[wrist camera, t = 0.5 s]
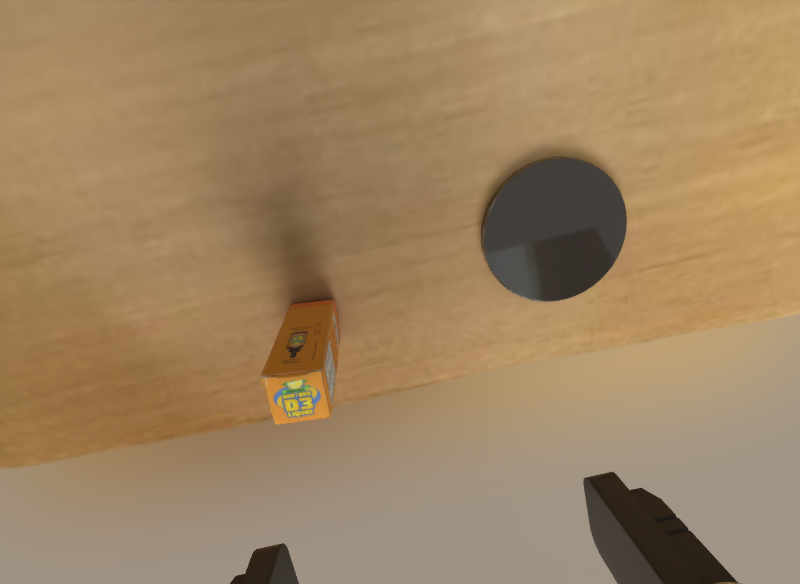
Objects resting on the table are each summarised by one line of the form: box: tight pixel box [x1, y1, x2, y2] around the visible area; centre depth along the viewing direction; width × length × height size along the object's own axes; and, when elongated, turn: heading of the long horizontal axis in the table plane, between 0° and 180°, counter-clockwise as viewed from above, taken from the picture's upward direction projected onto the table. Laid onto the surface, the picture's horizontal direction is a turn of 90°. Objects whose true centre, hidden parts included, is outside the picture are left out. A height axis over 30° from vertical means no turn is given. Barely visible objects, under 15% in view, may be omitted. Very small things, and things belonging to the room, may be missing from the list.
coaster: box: [482, 158, 627, 302], centre depth 32 cm, size 10×10×1 cm
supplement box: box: [260, 300, 340, 424], centre depth 28 cm, size 3×3×10 cm
